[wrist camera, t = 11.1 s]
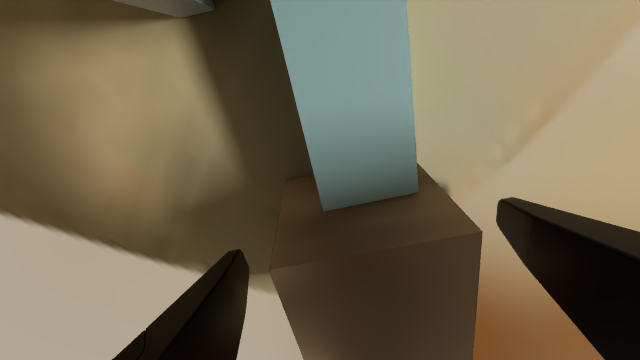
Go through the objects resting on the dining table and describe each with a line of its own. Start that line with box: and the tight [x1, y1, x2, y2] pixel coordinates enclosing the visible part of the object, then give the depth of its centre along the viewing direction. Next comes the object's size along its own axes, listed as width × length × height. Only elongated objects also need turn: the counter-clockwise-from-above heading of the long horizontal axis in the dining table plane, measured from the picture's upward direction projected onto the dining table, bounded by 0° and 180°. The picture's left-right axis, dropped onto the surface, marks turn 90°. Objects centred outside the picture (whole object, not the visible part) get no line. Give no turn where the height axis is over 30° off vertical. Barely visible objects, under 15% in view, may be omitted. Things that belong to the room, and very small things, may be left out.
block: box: [269, 163, 482, 360], centre depth 9 cm, size 4×4×4 cm
